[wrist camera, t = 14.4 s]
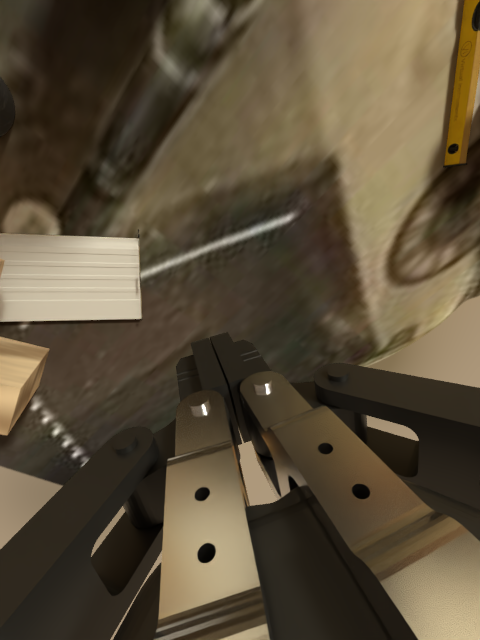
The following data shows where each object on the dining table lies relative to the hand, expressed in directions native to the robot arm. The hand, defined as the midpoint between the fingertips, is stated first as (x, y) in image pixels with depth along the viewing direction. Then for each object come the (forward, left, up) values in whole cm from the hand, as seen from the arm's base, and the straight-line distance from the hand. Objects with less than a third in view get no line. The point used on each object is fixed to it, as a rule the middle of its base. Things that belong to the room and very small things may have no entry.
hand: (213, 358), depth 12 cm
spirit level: (-19, +44, -32) cm, 58 cm away
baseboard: (-2, -20, -33) cm, 38 cm away
